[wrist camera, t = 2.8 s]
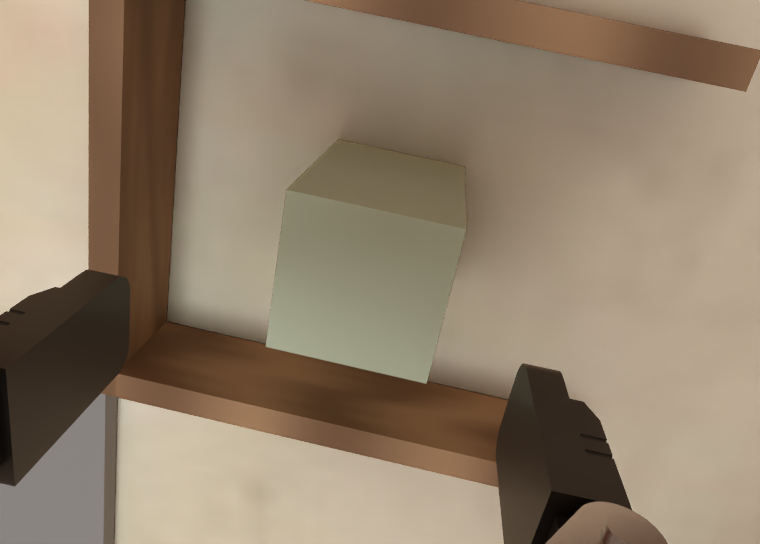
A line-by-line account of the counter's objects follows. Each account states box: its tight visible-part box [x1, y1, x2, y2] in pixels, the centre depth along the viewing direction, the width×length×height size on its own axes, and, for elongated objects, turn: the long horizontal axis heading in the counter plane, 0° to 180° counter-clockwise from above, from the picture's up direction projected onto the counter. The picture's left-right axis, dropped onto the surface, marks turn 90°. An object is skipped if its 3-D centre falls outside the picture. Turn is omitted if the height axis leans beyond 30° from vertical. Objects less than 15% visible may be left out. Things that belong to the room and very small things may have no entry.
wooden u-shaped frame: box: [89, 0, 760, 487], centre depth 20 cm, size 18×15×4 cm
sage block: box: [265, 139, 467, 384], centre depth 19 cm, size 4×4×7 cm
